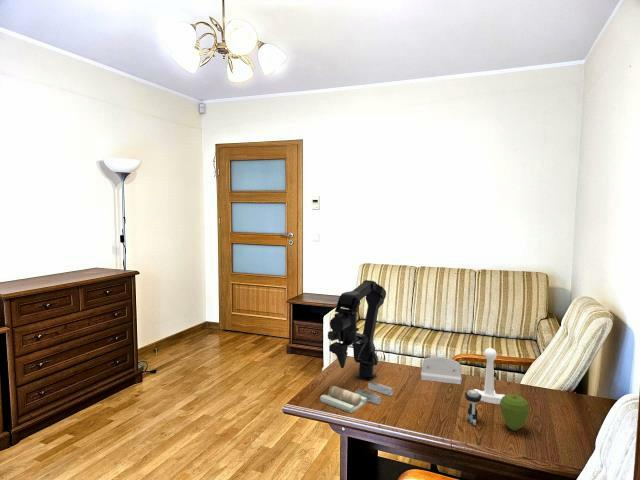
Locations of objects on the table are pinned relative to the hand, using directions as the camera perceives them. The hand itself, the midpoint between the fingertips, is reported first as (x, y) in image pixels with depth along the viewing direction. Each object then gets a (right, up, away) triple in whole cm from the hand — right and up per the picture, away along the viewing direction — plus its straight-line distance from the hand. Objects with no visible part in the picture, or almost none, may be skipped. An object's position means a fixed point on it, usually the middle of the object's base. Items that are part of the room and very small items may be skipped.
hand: (349, 364), depth 162 cm
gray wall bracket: (+40, -10, +13) cm, 43 cm away
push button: (+41, -13, -22) cm, 48 cm away
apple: (+52, -13, -26) cm, 60 cm away
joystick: (+53, -12, -5) cm, 55 cm away
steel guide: (+10, -11, -3) cm, 15 cm away
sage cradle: (-3, -12, -8) cm, 15 cm away
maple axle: (-2, -11, -9) cm, 14 cm away
